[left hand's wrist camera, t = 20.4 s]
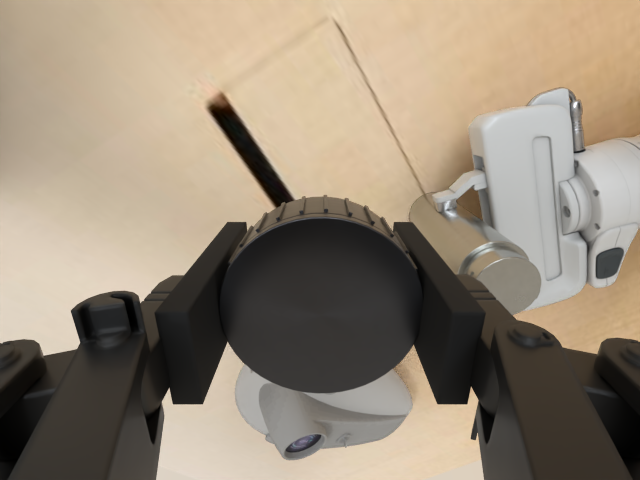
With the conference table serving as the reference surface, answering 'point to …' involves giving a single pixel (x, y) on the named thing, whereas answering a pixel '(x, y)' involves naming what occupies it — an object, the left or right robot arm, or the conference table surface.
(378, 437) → the projector
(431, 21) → the conference table surface
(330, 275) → the lid
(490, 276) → the silver metal cylinder
